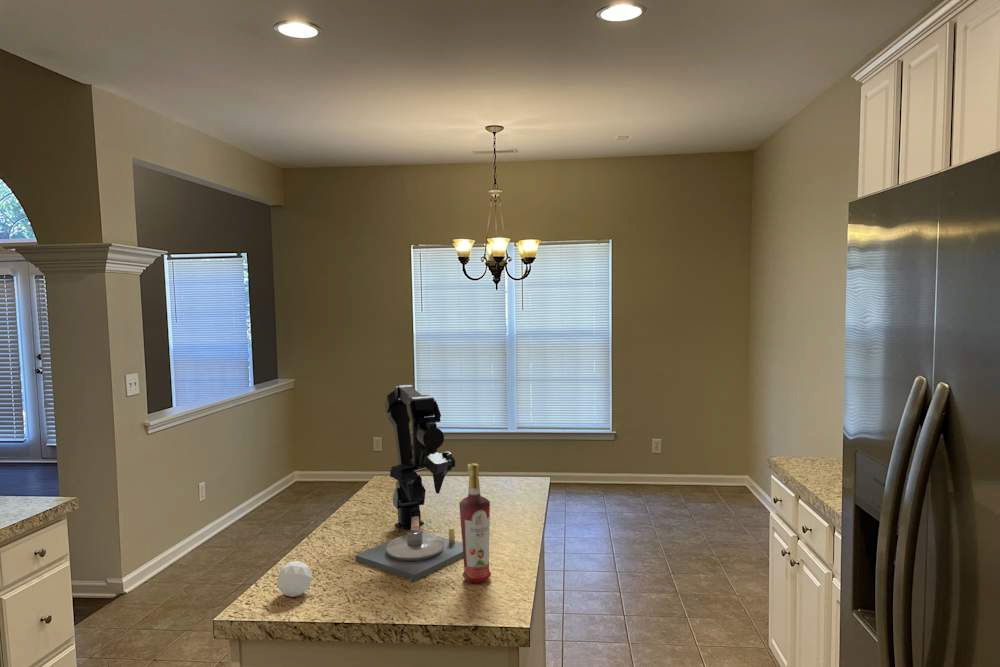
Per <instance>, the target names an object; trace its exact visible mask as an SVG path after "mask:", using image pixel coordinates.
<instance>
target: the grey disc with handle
mask: <svg viewBox="0 0 1000 667" xmlns="http://www.w3.org/2000/svg"><path fill="white" fill-rule="evenodd" d="M422 532H423V531H422V530H420V526H419V517H412V521H411V529H410V530H409V531H408V532H406V534H407V535H406V534H404V535H405V536H403V535H401V536H398V537H395V538H393V539H391V540H389V541H390V542H389V541H388V542H389V543H388V544H387V546H386V550H387V555H388V556H389V557H390V558H392V559H395V560H400V561H420V560H425V559H429V558H432V557H435V556H437V555H439V554H440V553H441V552H442V551H443V549H444V542H443V540H442V539H441V538H440V537H441V536H438V535H436V534H435V535H434V534H431V535H430V533H427V534H422Z"/></svg>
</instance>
